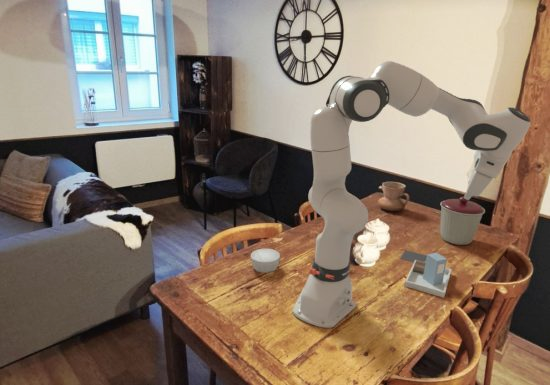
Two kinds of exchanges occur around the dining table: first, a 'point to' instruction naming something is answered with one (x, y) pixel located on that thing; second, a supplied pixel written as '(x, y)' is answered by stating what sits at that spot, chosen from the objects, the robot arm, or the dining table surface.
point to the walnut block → (419, 267)
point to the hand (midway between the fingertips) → (468, 190)
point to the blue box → (434, 268)
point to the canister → (460, 220)
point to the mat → (413, 256)
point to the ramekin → (265, 260)
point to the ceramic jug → (392, 196)
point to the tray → (420, 284)
